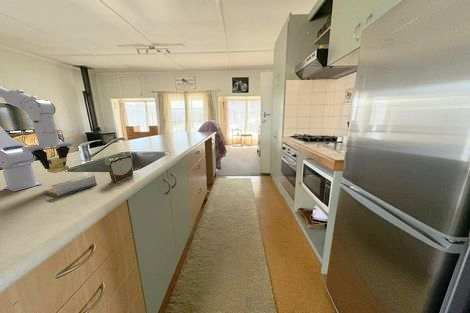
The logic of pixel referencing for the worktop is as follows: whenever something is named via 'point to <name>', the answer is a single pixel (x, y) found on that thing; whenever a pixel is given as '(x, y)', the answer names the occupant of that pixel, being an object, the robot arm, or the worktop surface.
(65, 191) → the grey and orange tray
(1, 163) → the robot arm
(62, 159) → the clip nut
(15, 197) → the worktop surface
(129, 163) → the food container
